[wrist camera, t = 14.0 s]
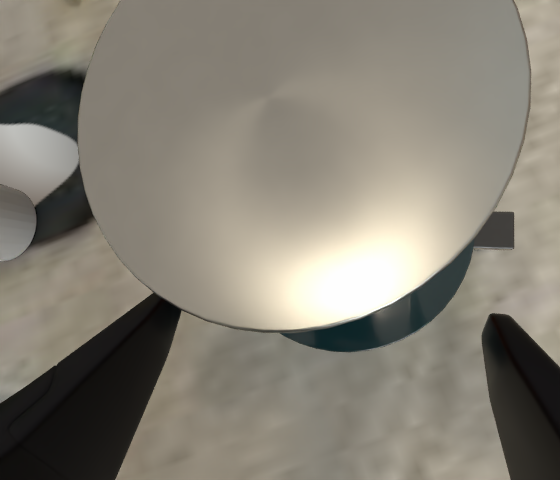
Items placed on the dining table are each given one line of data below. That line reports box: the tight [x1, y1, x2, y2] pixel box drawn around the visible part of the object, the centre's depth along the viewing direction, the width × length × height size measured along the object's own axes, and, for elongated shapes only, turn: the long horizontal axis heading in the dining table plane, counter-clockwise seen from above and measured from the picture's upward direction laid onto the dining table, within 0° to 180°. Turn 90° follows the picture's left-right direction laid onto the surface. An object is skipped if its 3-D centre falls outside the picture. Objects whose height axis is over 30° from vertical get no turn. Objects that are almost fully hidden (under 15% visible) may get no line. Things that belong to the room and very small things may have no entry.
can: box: [78, 0, 531, 333], centre depth 11 cm, size 7×7×13 cm
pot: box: [280, 212, 514, 352], centre depth 20 cm, size 13×16×4 cm
